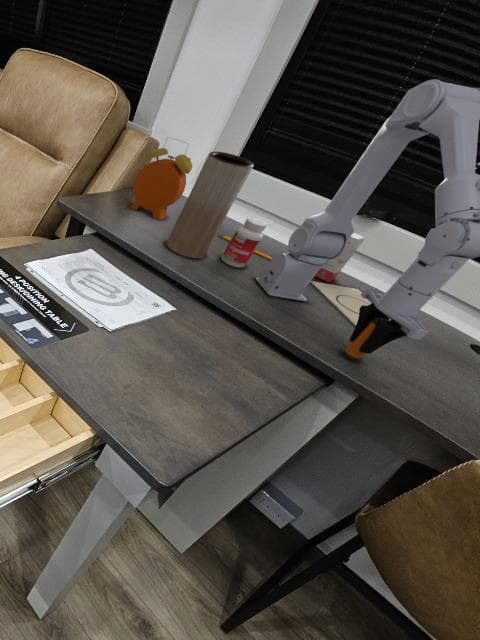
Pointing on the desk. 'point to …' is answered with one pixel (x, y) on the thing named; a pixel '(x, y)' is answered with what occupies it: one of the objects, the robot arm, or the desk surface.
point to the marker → (361, 341)
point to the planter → (208, 203)
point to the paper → (344, 299)
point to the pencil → (254, 251)
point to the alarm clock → (160, 182)
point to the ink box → (340, 259)
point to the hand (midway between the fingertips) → (359, 346)
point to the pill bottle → (244, 243)
